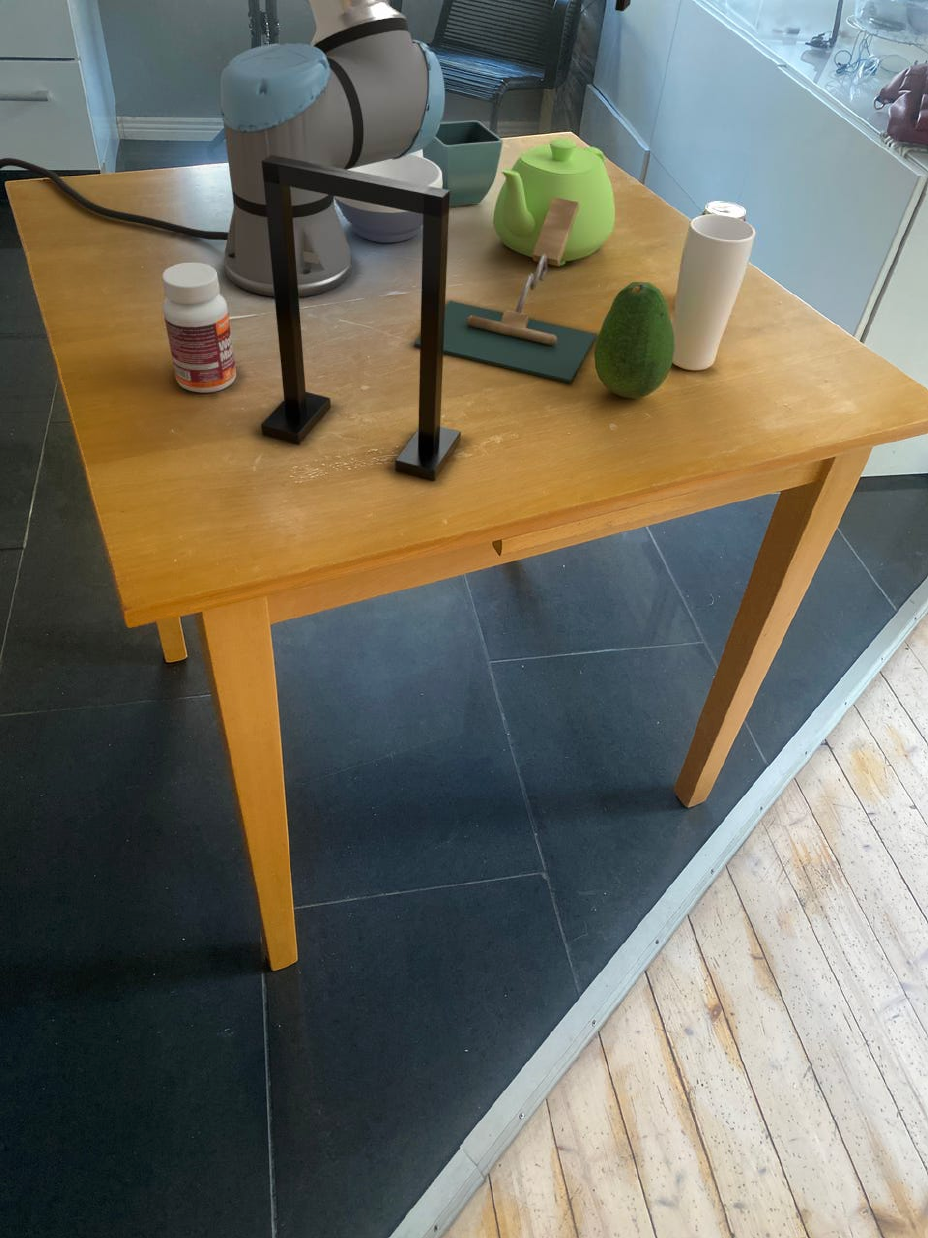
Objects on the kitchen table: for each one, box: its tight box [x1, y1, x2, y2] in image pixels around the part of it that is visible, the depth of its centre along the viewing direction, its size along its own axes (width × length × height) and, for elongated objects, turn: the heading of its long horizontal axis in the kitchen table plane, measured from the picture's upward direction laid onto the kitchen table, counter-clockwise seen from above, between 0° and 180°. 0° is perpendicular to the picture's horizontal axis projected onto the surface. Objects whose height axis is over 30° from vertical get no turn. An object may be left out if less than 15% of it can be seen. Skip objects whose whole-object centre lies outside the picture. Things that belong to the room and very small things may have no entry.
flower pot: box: [421, 119, 504, 207], centre depth 131 cm, size 9×9×9 cm
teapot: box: [492, 137, 616, 267], centre depth 120 cm, size 22×15×13 cm
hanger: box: [466, 197, 579, 346], centre depth 111 cm, size 11×6×20 cm
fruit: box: [593, 281, 675, 400], centre depth 96 cm, size 8×8×12 cm
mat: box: [414, 300, 598, 384], centre depth 107 cm, size 18×11×1 cm, turn 70°
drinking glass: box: [671, 214, 756, 371], centre depth 101 cm, size 7×7×15 cm
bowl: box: [334, 153, 443, 244], centre depth 124 cm, size 14×14×8 cm
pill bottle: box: [161, 262, 237, 394], centre depth 94 cm, size 6×6×11 cm
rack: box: [260, 155, 462, 482], centre depth 84 cm, size 18×7×25 cm, turn 70°
